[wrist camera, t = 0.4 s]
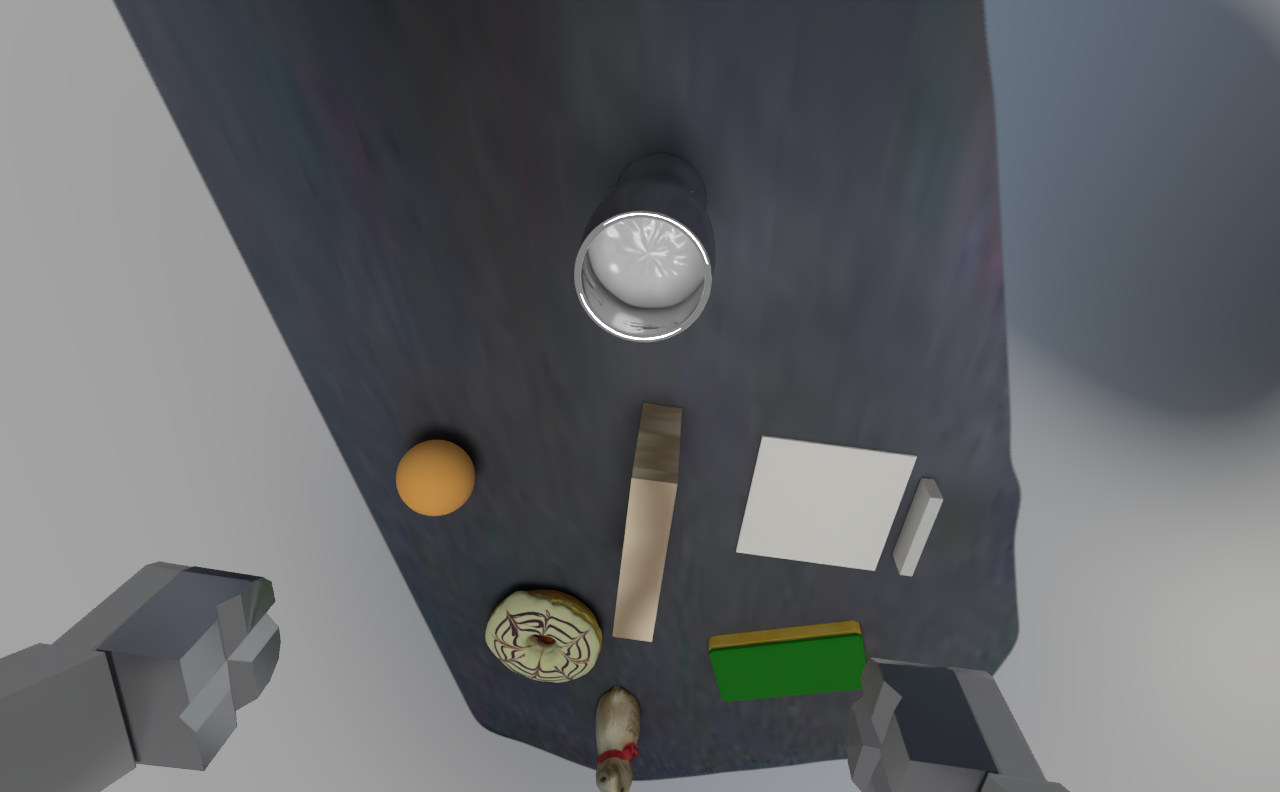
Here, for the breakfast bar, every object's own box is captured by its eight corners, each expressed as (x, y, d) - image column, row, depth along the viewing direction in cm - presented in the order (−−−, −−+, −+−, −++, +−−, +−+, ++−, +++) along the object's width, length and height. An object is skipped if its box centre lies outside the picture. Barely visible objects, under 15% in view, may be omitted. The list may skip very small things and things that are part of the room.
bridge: (625, 548, 61) (612, 636, 53) (643, 403, 53) (631, 478, 45) (659, 553, 61) (651, 642, 53) (681, 407, 53) (677, 484, 45)
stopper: (921, 477, 55) (930, 497, 53) (934, 479, 55) (943, 499, 53) (892, 553, 59) (899, 574, 57) (904, 555, 59) (911, 576, 57)
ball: (410, 420, 56) (380, 463, 51) (483, 430, 56) (460, 474, 51) (414, 480, 59) (386, 526, 54) (484, 489, 59) (463, 536, 54)
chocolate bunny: (581, 724, 74) (564, 820, 65) (610, 681, 70) (597, 777, 61) (628, 741, 75) (618, 838, 66) (660, 700, 71) (653, 797, 62)
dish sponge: (708, 632, 66) (708, 653, 64) (857, 615, 63) (862, 636, 61) (722, 681, 69) (723, 703, 67) (864, 667, 67) (870, 689, 65)
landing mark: (762, 435, 54) (762, 436, 54) (916, 455, 54) (916, 456, 54) (735, 550, 60) (735, 552, 60) (874, 569, 60) (874, 570, 60)
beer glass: (657, 271, 48) (639, 372, 35) (586, 196, 46) (539, 274, 33) (735, 204, 45) (747, 286, 32) (663, 121, 43) (645, 173, 30)
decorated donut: (501, 567, 64) (490, 598, 60) (614, 595, 64) (609, 626, 61) (486, 642, 69) (475, 674, 66) (591, 667, 69) (585, 700, 66)
